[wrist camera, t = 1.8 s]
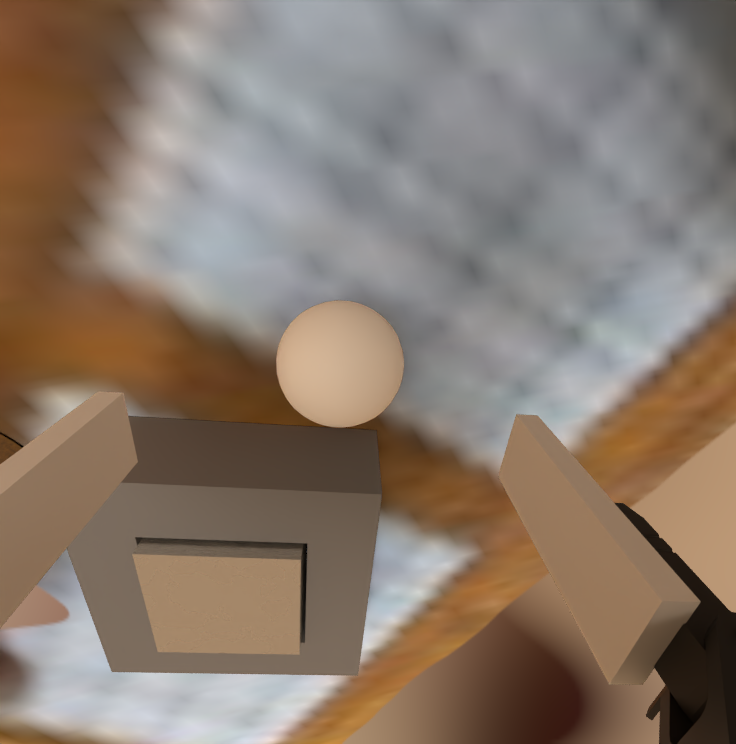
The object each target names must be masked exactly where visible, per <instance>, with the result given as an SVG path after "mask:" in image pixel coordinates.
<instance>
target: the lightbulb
mask: <svg viewBox="0 0 736 744" xmlns="http://www.w3.org/2000/svg"><path fill="white" fill-rule="evenodd" d="M276 365H277V376H278V380H279V384H280V387H281V389H282V391H283V393H284V395H285V397H286V399H287V400H288V401H289V403H290V404H291V405H292V407H293V408H294V409H296V410H297V411H298V412H299V413H300V414H301V415H303V416H304V417H306V418H308V419H309V420H311V421H313V422H316V423H319V424H321V425H325V426H330V427H351V426H355V425H359V424H362V423H365V422H367V421H369V420H371V419H373V418H375V417H376V416H378V415H379V414H380V413H382V412H383V411H384V410H385V409H386V408H387V407H388V405H389V404H390V403H391V402H392V400H393V398H394V397H395V395H396V393H397V392H398V390H399V387H400V384H401V381H402V377H403V370H404V357H403V351H402V347H401V344H400V341H399V338H398V336H397V334H396V332H395V331H394V329H393V327H392V326H391V325H390V324H389V323H388V322H387V320H386V319H385V318H384V317H382V316H381V315H380V314H378V313H377V312H376V311H374V310H373V309H371V308H369V307H367V306H364V305H362V304H359V303H356V302H352V301H341V300H336V301H329V302H324V303H321V304H318V305H315V306H313V307H311V308H309V309H307V310H305V311H304V312H302V313H301V314H300V315H298V316H297V317H296V318H295V319H294V320H293V321H292V322H291V324H290V325H289V326H288V328H287V329H286V331H285V332H284V334H283V336H282V339H281V341H280V343H279V346H278V351H277V357H276Z"/></svg>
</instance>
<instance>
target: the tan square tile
mask: <svg viewBox="0 0 736 744" xmlns="http://www.w3.org/2000/svg"><path fill="white" fill-rule="evenodd" d="M132 556H133V559H134V563H135V567H136V571H137V575H138V579H139V582H140V586H141V590H142V594H143V598H144V601H145V605H146V609H147V613H148V617H149V620H150V624H151V628H152V632H153V636H154V640H155V643H156V647H157V651H158V652H182V653H237V654H292V655H299V654H300V646H301V638H302V630H303V622H304V614H305V568H306V543H281V542H254V541H227V540H199V539H172V538H145V537H143V538H142V539H141V541H140V542H139V544H138V546H137V547H136V549H135V550H134V552H133V553H132Z"/></svg>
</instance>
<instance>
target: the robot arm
mask: <svg viewBox="0 0 736 744" xmlns="http://www.w3.org/2000/svg"><path fill="white" fill-rule="evenodd" d="M137 462H138V460H137V455H136V450H135V446H134V441H133V436H132V431H131V427H130V422H129V417H128V413H127V408H126V403H125V398H124V394H123V393H117V392H99V391H98V392H97V393H96V394H94V395H93V396H92V397H90V398H89V399H88V400H86V401H85V402H84V403H82V404H81V405H80V406H78V407H77V408H76V409H74V410H73V411H71V412H70V413H69V414H67V415H66V416H65V417H63V418H62V419H61V420H59V421H58V422H57V423H55V424H54V425H53V426H51V427H50V428H49V429H47V430H46V431H45V432H43V433H42V434H41V435H39V436H38V437H36V438H35V439H34V440H32V441H31V442H30V443H28V444H27V445H26V446H24V447H23V448H22V449H20V450H19V451H18V452H16V453H15V454H14V455H12V456H11V457H10V458H8V459H7V460H6V461H4V462H3V463H1V464H0V628H1V627H2V626H3V624H4V623H5V622H6V621H7V619H8V618H9V617H10V616H11V615H12V613H13V612H14V611H15V610H16V609H17V607H18V606H19V605H20V604H21V603H22V601H23V600H24V599H25V598H26V597H27V595H28V594H29V593H30V592H31V591H32V589H33V588H34V587H35V586H36V584H37V583H38V582H39V581H40V580H41V578H42V577H43V576H44V575H45V574H46V572H47V571H48V570H49V569H50V568H51V566H52V565H53V564H54V563H55V561H56V560H57V559H58V558H59V557H60V555H61V554H62V553H63V552H64V551H65V549H66V548H67V547H68V546H69V545H70V543H71V542H72V541H73V540H74V539H75V537H76V536H77V535H78V534H79V532H80V531H81V530H82V529H83V528H84V526H85V525H86V524H87V523H88V522H89V520H90V519H91V518H92V517H93V516H94V514H95V513H96V512H97V511H98V509H99V508H100V507H101V506H102V505H103V503H104V502H105V501H106V500H107V499H108V497H109V496H110V495H111V494H112V493H113V491H114V490H115V489H116V488H117V487H118V485H119V484H120V483H121V482H122V480H123V479H124V478H125V477H126V476H127V474H128V473H129V472H130V471H131V470H132V468H133V467H134V466H135V465H136V464H137ZM498 478H499V480H500V481H501V483H502V485H503V487H504V489H505V491H506V493H507V494H508V496H509V498H510V500H511V502H512V504H513V506H514V508H515V509H516V511H517V513H518V515H519V517H520V519H521V521H522V522H523V524H524V526H525V528H526V530H527V532H528V534H529V536H530V537H531V539H532V541H533V543H534V545H535V547H536V549H537V550H538V552H539V554H540V556H541V558H542V560H543V562H544V564H545V565H546V567H547V569H548V571H549V573H550V575H551V577H552V578H553V580H554V582H555V584H556V586H557V588H558V589H559V592H560V593H561V595H562V597H563V599H564V601H565V603H566V605H567V606H568V608H569V610H570V612H571V614H572V616H573V618H574V620H575V621H576V623H577V625H578V627H579V629H580V631H581V633H582V634H583V636H584V638H585V640H586V642H587V644H588V646H589V648H590V649H591V651H592V653H593V655H594V657H595V659H596V660H597V662H598V664H599V666H600V668H601V670H602V672H603V674H604V676H605V677H606V679H607V681H608V683H609V684H610V685H611V684H612V685H613V684H614V685H615V684H618V685H621V684H622V685H624V684H625V685H628V684H629V685H630V684H632V685H641V684H643V683H644V682H645V681H646V679H647V678H648V676H649V675H650V673H651V672H652V670H653V669H654V668H655V669H656V671H657V672H658V674H659V675H660V677H661V678H662V680H663V681H664V683H665V684H666V685H665V687H664V688H663V689H662V691H661V692H660V694H659V695H658V696H657V698H656V699H655V700H654V701H653V703H652V704H651V705H650V707H649V709H648V712H647V714H646V717H648V718H649V719H651V720H653V719H654V717H655V716H656V715H657V713H658V712H659V711H660V730H659V732H660V733H659V744H736V613H734V612H731V611H729V610H728V609H727V608H726V606H725V605H724V604H723V603H722V602H721V601H720V600H719V599H718V598H717V597H716V596H715V595H714V594H713V593H712V591H711V590H710V589H709V588H708V587H707V586H706V585H705V584H704V583H703V582H702V581H701V580H700V578H699V577H698V576H697V575H696V574H695V573H694V572H693V571H692V570H691V569H690V568H689V567H688V566H687V564H686V563H685V562H684V561H683V560H682V559H681V558H680V557H679V556H678V555H677V554H676V553H673V552H672V548H671V547H670V546H669V545H668V544H667V543H666V542H665V541H664V540H663V539H662V538H659V535H658V533H657V532H656V531H655V530H654V529H653V528H652V527H651V526H650V525H649V523H648V522H647V521H646V520H645V519H644V518H643V517H641V516H640V515H638V514H637V513H636V512H634V511H633V510H632V509H630V508H629V507H627V506H626V505H625V504H623V503H614V502H613V501H612V500H611V499H610V498H609V496H608V495H607V494H606V493H605V492H604V491H603V490H602V489H601V487H600V486H599V485H598V484H597V483H596V482H595V481H594V479H593V478H592V477H591V476H590V475H589V474H588V473H587V471H586V470H585V469H584V468H583V467H582V466H581V465H580V463H579V462H578V461H577V460H576V459H575V458H574V457H573V455H572V454H571V453H570V452H569V451H568V450H567V449H566V447H565V446H564V445H563V444H562V443H561V442H560V441H559V439H558V438H557V437H556V436H555V435H554V434H553V433H552V431H551V430H550V429H549V428H548V427H547V426H546V425H545V423H544V422H543V421H542V420H541V419H540V418H539V417H538V415H519V414H516V417H515V421H514V424H513V428H512V431H511V434H510V438H509V441H508V445H507V448H506V451H505V455H504V458H503V462H502V465H501V469H500V472H499V475H498Z"/></svg>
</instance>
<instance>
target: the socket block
mask: <svg viewBox="0 0 736 744" xmlns="http://www.w3.org/2000/svg"><path fill="white" fill-rule="evenodd" d="M128 417H129V422H130V427H131V431H132V436H133V441H134V446H135V450H136V455H137V460H138V462H137V464H136V465H135V466H134V467H133V468H132V470H131V471H130V472H129V473H128V474H127V476H126V477H125V478H124V479H123V480H122V482H121V483H120V484H119V485H118V487H117V488H116V489H115V490H114V491H113V493H112V494H111V495H110V496H109V497H108V499H107V500H106V501H105V502H104V503H103V505H102V506H101V507H100V508H99V509H98V511H97V512H96V513H95V514H94V516H93V517H92V518H91V519H90V520H89V522H88V523H87V524H86V525H85V526H84V528H83V529H82V530H81V531H80V532H79V534H78V535H77V536H76V537H75V539H74V540H73V541H72V542H71V543H70V545H69V546H68V547H67V551H68V553H69V556H70V559H71V562H72V564H73V567H74V570H75V573H76V575H77V578H78V581H79V583H80V586H81V589H82V592H83V594H84V597H85V600H86V603H87V605H88V608H89V611H90V614H91V616H92V619H93V622H94V625H95V627H96V630H97V633H98V635H99V638H100V641H101V644H102V646H103V649H104V652H105V655H106V657H107V660H108V663H109V666H110V668H111V671H112V672H153V673H221V674H288V675H355V676H358V671H359V664H360V656H361V649H362V641H363V634H364V626H365V619H366V611H367V604H368V596H369V589H370V581H371V574H372V566H373V559H374V551H375V544H376V536H377V529H378V521H379V514H380V506H381V499H382V488H381V477H380V465H379V454H378V442H377V431H376V430H363V429H346V428H328V427H310V426H292V425H275V424H257V423H239V422H222V421H204V420H186V419H168V418H151V417H133V416H128ZM143 537H145V538H172V539H199V540H227V541H254V542H281V543H307V563H306V568H305V614H304V622H303V630H302V638H301V646H300V654H299V655H292V654H237V653H182V652H158V651H157V647H156V643H155V640H154V636H153V632H152V628H151V624H150V620H149V617H148V613H147V609H146V605H145V601H144V598H143V594H142V590H141V586H140V582H139V579H138V575H137V571H136V567H135V563H134V559H133V556H132V553H133V552H134V550H135V549H136V547H137V546H138V544H139V542H140V541H141V539H142V538H143Z"/></svg>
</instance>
